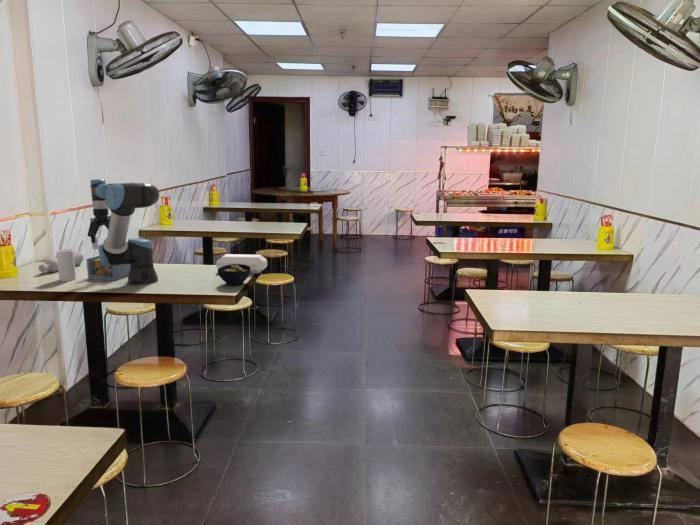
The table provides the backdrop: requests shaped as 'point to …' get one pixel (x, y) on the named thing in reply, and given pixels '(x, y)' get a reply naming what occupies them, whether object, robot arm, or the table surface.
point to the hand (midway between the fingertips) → (104, 246)
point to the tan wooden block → (100, 268)
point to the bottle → (52, 264)
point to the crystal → (244, 261)
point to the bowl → (234, 274)
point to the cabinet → (115, 272)
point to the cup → (66, 265)
